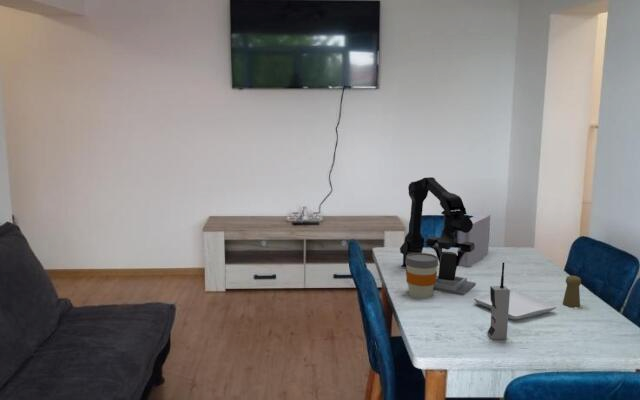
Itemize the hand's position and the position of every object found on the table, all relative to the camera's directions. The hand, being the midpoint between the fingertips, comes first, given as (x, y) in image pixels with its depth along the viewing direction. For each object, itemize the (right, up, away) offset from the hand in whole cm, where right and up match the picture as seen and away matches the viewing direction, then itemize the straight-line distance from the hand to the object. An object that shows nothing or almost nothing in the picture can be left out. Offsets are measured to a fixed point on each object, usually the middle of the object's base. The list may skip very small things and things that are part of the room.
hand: (448, 264), depth 230 cm
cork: (+41, -13, -19) cm, 47 cm away
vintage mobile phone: (+4, -18, -48) cm, 52 cm away
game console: (+20, -2, +40) cm, 45 cm away
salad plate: (+18, -14, -23) cm, 33 cm away
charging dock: (0, -9, +2) cm, 9 cm away
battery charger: (-1, -6, +2) cm, 6 cm away
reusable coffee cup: (-13, -11, -8) cm, 19 cm away
